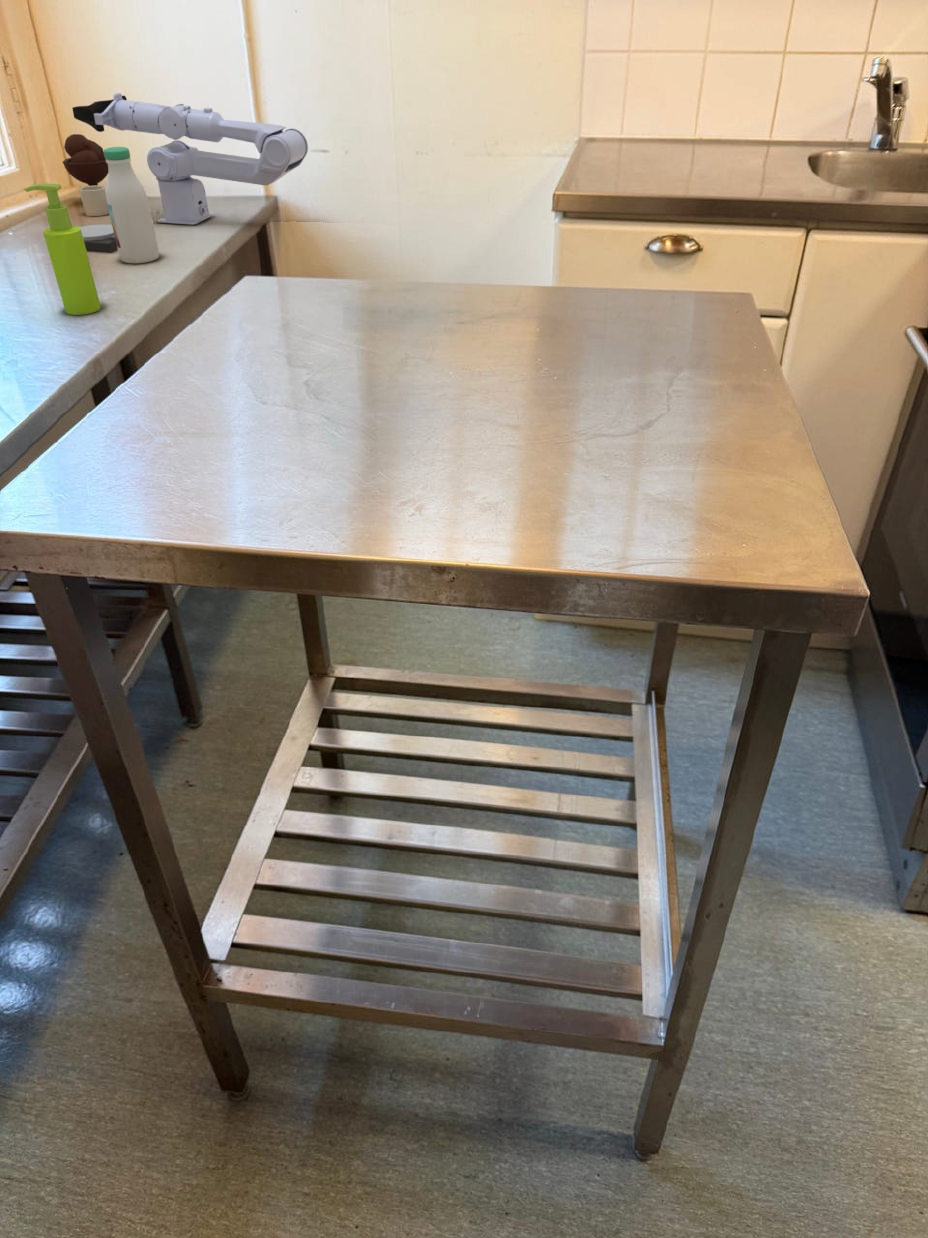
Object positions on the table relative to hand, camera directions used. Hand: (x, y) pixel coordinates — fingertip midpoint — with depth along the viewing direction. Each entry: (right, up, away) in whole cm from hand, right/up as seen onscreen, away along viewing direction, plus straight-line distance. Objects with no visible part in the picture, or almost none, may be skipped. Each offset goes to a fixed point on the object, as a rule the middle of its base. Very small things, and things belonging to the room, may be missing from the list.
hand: (84, 109), depth 196 cm
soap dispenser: (+16, -58, -40) cm, 72 cm away
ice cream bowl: (-7, -9, +24) cm, 27 cm away
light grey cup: (-3, -16, +15) cm, 22 cm away
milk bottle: (+18, -39, -16) cm, 46 cm away
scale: (+6, -32, -6) cm, 33 cm away
